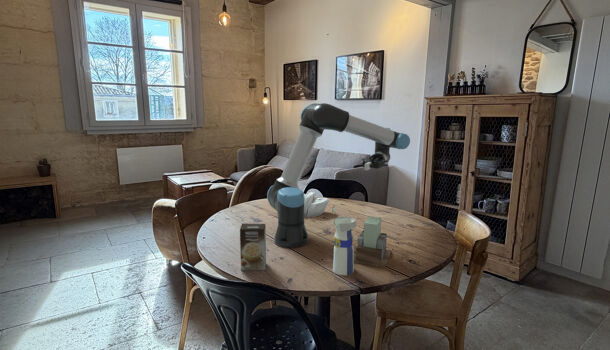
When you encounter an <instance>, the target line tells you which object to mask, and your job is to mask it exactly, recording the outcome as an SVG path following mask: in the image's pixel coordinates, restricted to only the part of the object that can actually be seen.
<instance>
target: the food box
mask: <svg viewBox="0 0 610 350" xmlns="http://www.w3.org/2000/svg"><path fill="white" fill-rule="evenodd" d="M266 231H267V229H266V223H241V225H240V227H239V246H240V248H239V249H240V271H265V270H266V267H267V248H266V247H267V246H266V245H267V244H266V242H267V239H266V237H267V236H266V235H267V234H266ZM265 266H266V267H265Z"/></svg>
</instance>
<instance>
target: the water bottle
mask: <svg viewBox="0 0 610 350" xmlns="http://www.w3.org/2000/svg"><path fill="white" fill-rule="evenodd" d="M331 209H332V211H331V213H332V214H333V215H335V211H336V208H335V205H334V204H333V206H331ZM357 226H358V225H357V220H356V219H355V218H354V217H350V216H339V217H336V218H334V219H333V229H335V233H334V234H333V235H334V238H333V241H332V242H333V243H332V244H333V246H334V247H333V261H332V262H333V263H332V272H333V273H334V274H336V275H339V276H349V275H352V274H353V273H354V272H355V265H354V254H355V252H354V251H355V250H354V249H355V248H354V245H353V239H354V237H355V235H354V233H353V229H355V228H356V227H357Z"/></svg>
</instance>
